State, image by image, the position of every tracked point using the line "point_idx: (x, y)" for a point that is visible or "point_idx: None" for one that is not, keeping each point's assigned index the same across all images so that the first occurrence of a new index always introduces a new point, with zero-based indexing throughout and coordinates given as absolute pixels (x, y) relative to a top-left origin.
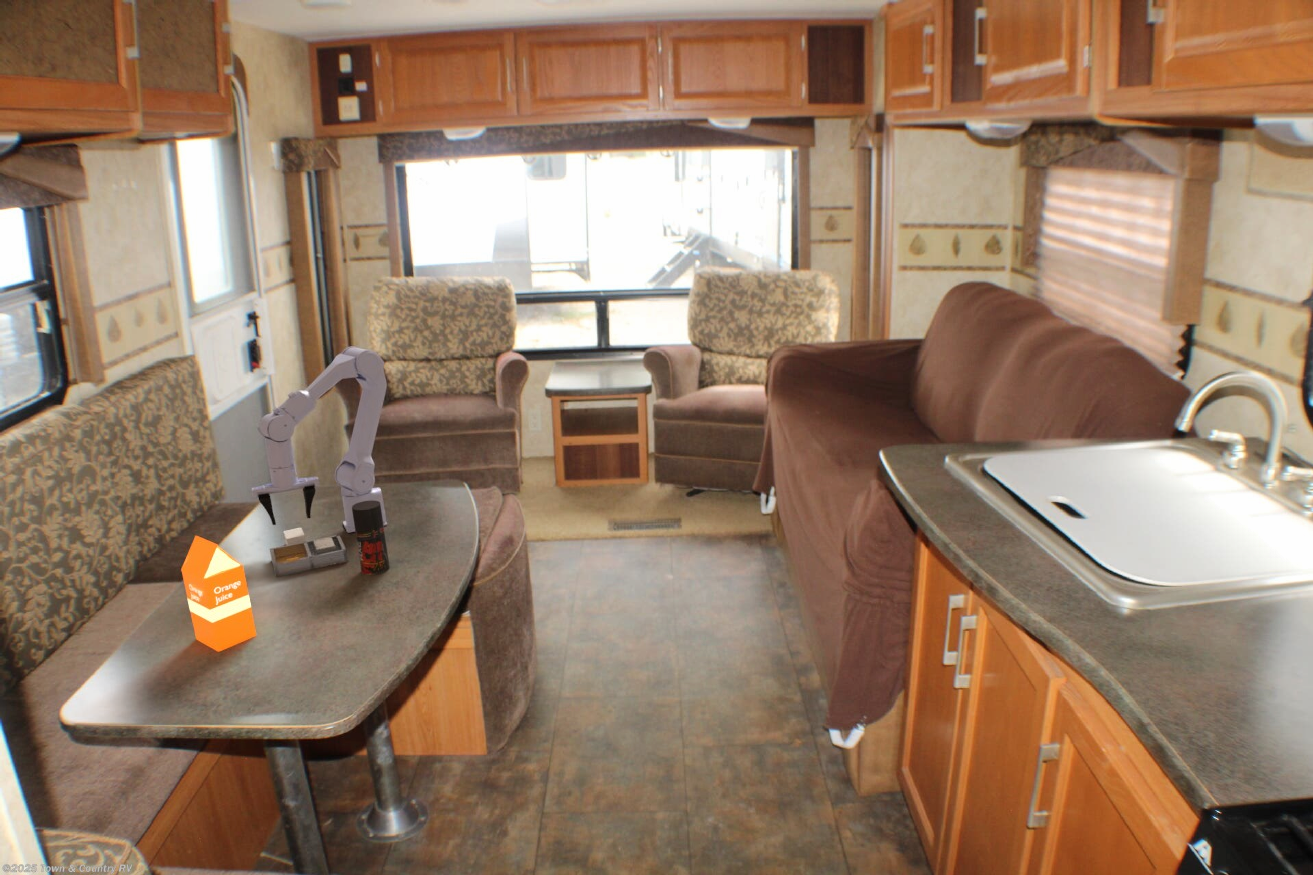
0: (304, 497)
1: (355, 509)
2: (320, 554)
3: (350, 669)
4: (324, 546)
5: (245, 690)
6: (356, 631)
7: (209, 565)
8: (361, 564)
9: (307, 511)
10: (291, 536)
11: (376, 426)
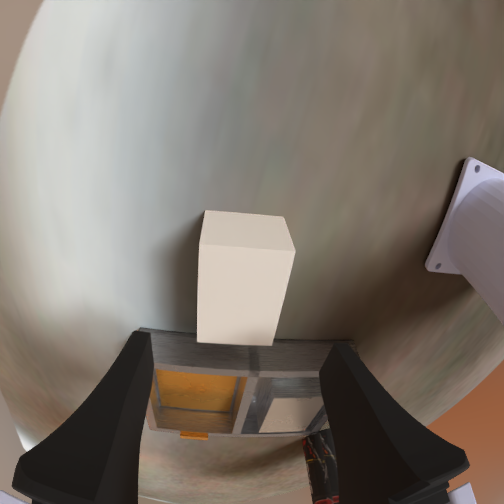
0: (371, 447)
1: None
2: (259, 435)
3: (212, 499)
4: (282, 427)
5: (139, 490)
6: (232, 488)
7: None
8: (305, 455)
9: (328, 412)
10: (220, 329)
11: None
